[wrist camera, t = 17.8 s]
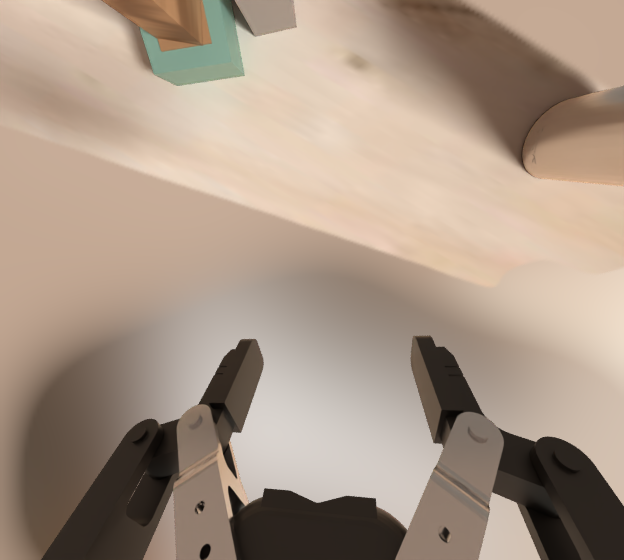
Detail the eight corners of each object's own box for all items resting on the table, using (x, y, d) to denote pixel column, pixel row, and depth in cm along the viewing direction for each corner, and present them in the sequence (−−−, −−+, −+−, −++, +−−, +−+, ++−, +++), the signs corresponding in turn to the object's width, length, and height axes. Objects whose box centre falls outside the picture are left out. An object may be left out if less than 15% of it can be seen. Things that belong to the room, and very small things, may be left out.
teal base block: (226, -29, 26) (205, -69, 21) (245, 76, 30) (230, 61, 25) (149, -14, 27) (113, -50, 22) (178, 86, 31) (152, 73, 26)
